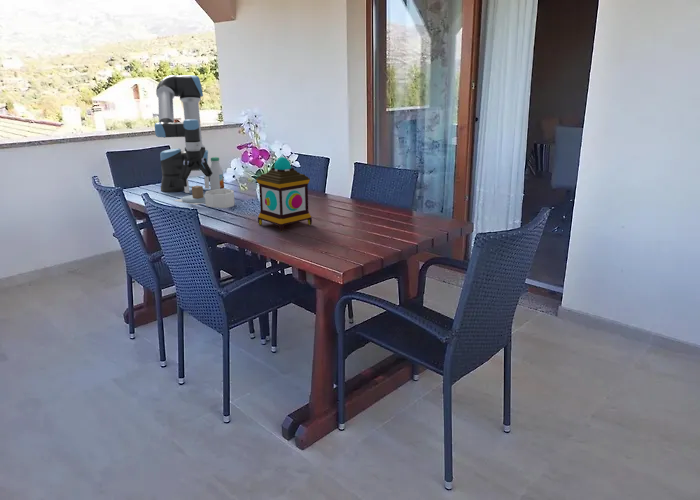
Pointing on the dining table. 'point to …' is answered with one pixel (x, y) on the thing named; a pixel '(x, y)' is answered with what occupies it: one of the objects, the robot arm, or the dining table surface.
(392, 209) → the dining table surface
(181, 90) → the robot arm
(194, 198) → the lid
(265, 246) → the dining table surface
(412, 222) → the dining table surface
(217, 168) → the milk bottle
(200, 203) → the mat
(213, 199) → the bowl
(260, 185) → the decorative lantern
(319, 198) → the dining table surface
